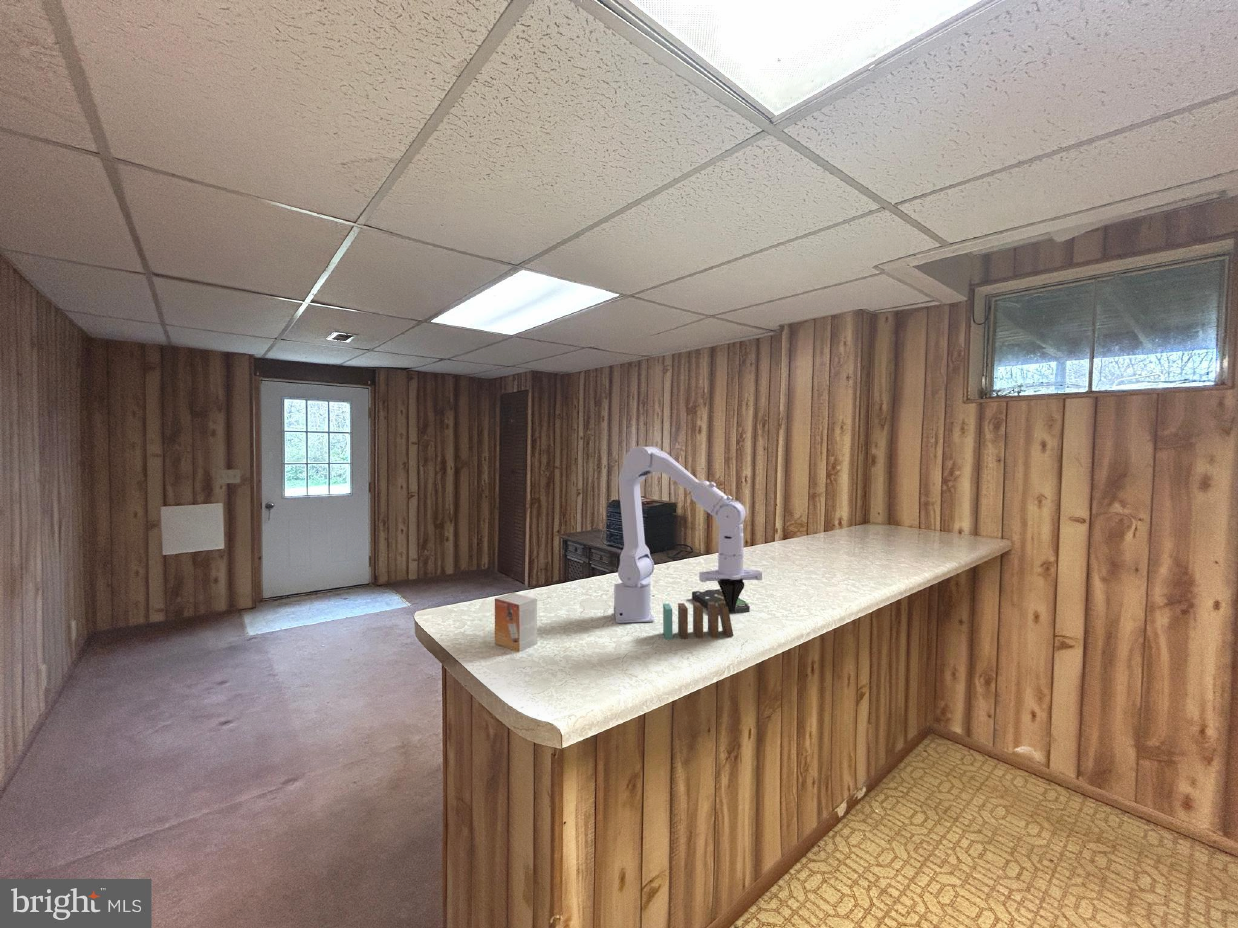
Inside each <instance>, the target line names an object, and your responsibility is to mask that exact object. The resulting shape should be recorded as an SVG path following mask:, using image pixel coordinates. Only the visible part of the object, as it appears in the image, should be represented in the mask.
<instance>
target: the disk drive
mask: <svg viewBox="0 0 1238 928" xmlns="http://www.w3.org/2000/svg"><path fill="white" fill-rule="evenodd" d="M691 600H693V602H694V603H700V605H701V606H702V607H703V609H706V610H707V611H708V602H714V603H715V604H716V605H717V602H721V601H723V602H724V603H725V600H724V596H723V594H722V591H721V588H717V589H706V590H704V591H700V590H694V591H691ZM717 606H718V605H717ZM750 608H751V607H750V605H749V603H748V602H747V601H745V600H743V599H742V598H740V597H739V598H738V600H737V603H736V607H735V612H729V615H733V614H734V615H735V614H744V613H750Z"/></svg>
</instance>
